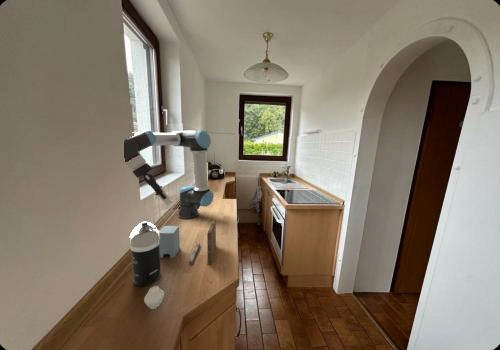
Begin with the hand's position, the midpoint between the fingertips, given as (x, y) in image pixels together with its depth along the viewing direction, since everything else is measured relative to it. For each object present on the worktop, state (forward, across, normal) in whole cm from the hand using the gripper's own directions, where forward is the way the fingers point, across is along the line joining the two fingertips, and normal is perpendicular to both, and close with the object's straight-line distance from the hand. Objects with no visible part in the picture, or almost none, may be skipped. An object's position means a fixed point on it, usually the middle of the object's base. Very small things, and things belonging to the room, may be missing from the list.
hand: (168, 201), depth 92 cm
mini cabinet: (+22, 0, -15) cm, 27 cm away
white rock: (+21, +30, -24) cm, 44 cm away
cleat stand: (+31, +8, -3) cm, 32 cm away
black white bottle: (+18, +15, -24) cm, 34 cm away
